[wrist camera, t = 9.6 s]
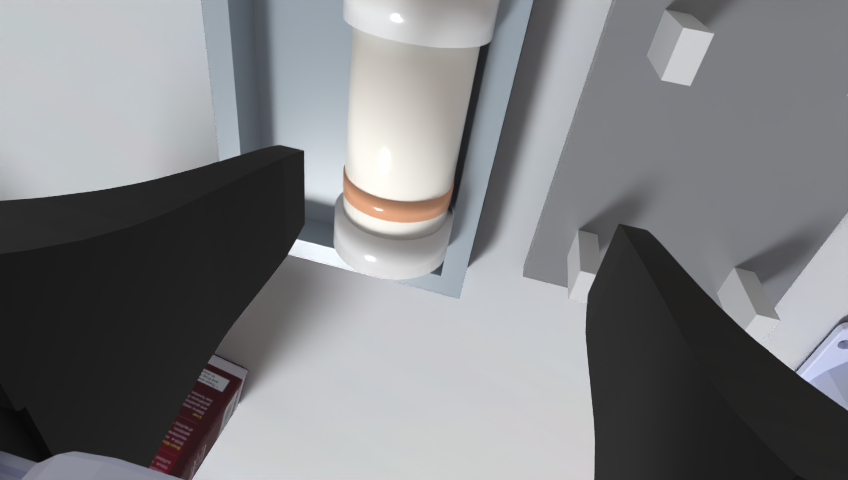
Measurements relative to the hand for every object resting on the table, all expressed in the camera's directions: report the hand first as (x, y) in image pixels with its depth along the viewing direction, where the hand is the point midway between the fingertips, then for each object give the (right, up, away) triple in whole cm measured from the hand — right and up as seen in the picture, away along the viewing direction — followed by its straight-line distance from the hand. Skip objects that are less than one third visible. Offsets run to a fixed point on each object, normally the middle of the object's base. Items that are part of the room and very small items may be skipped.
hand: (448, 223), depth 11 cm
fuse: (-3, +5, +7) cm, 9 cm away
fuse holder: (+10, +2, +7) cm, 12 cm away
